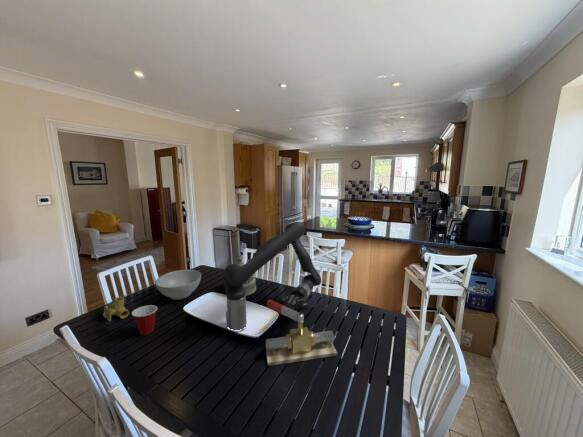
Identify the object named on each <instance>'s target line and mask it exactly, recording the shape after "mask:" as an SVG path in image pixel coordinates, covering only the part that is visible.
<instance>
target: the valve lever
mask: <svg viewBox="0 0 583 437" xmlns="http://www.w3.org/2000/svg"><path fill="white" fill-rule="evenodd" d="M266 308H267V309H270V310H271V311H274V312H275V313H278V314H280V315H283V316H285V317H288V318H290V319H292V320H294V321H295V322H297V324H298V323H304V321H305V320H304V318H305V317H304V316H305V315H304V313H302V312H300V311H299V312H298V311H297V310H294V309H290V308H287V307H285V304H281V303H279V302H277V301H276V300H275V301H274V300H273V299H269V300H267V301H266Z"/></svg>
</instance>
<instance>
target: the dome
mask: <svg viewBox="0 0 583 437" xmlns="http://www.w3.org/2000/svg"><path fill="white" fill-rule="evenodd" d="M236 264H237V265H239V266H240V267H241V266H243V265H245V264H246V263H245V262H243V257H242V256H241V255H240V254H239V256H238V257H237V263H236ZM256 282H257V279H256V277H255V276H254V274H253V275H252V276H251V277H250V278H249V279H248V280H247V281H246V282H245V283H244V284H242V285H243V287H244V289H245V297H248V296H251V295H252V294H254V293H255V292H256V291H257V285H256Z"/></svg>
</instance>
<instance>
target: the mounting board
mask: <svg viewBox="0 0 583 437" xmlns="http://www.w3.org/2000/svg"><path fill="white" fill-rule="evenodd" d="M265 351H266V361H267V367H270V366H278V365H283V364H284V365H285V364H289V363H296V362H304V361H309V360H317V359H323V358H330V357H337V356H338V352H337V350H336V348H335V346H334V344H333V342H326V343H319V344H315V346H312V347H311V352H306V353H300V354H293V353H292V349H291V350H287V348H283V349H276V350H268V351H267V349H266V348H265Z"/></svg>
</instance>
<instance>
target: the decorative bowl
mask: <svg viewBox="0 0 583 437" xmlns="http://www.w3.org/2000/svg"><path fill="white" fill-rule="evenodd" d="M201 279H202V273H201V271H199V270H196V269H180V270H174V271H170V272H168V273H165V274H162V275H160V276H159V277H158V278H157V279H156V280H155V282H154V283H155V287H156V289H157V290H158V291H159V292H160V293H161V294H162V295H164V296H165V297H167V298H170V299H172V300H173V301H174V300H175V301H176V300H177V301H179V300H183V299H186V298H188V297H190V296H191V294H192V293H193V292H194V291H195V290H196V289H197V288H198V286H199V285H200V282H201Z"/></svg>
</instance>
